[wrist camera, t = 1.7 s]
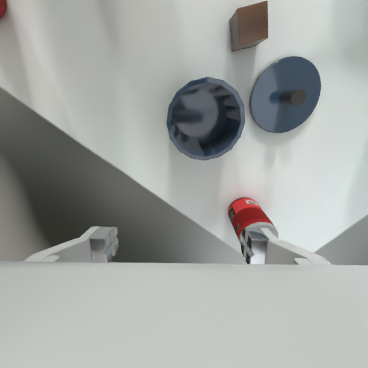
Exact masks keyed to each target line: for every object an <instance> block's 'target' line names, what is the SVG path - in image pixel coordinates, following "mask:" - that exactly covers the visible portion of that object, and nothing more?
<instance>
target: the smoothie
mask: <svg viewBox="0 0 368 368" xmlns="http://www.w3.org/2000/svg"><path fill="white" fill-rule="evenodd" d="M5 9H6V3H5V0H0V18H2V16H3V15H4V13H5Z"/></svg>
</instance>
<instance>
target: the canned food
mask: <svg viewBox="0 0 368 368" xmlns="http://www.w3.org/2000/svg"><path fill="white" fill-rule="evenodd" d="M228 215H229V218H230V220H231V223H232V225H233V227H234V230H235V232H236V235H237V237H238V239H239V241H240V243H241V241H242V240H243V239H244V238H243V236H242V230H243V228H268V229H269V230H270V231H271V232H272V233H273V234H274V235H275V236H276V237H277V238H278V232H277V230H276V228H275V226H274V225H273V224H272V222H271V221H270V220H269V218H268V217H267V216H266V214H265V213H264V212H263V210H262V209H261V208H260V207H259V205H258V204H257V203H256V202H255V201H254V200H252V199H250V198H240V199H237V200H235V201H234V202H233V203H232V204H231V205H230V207H229V210H228Z"/></svg>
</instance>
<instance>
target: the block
mask: <svg viewBox="0 0 368 368" xmlns="http://www.w3.org/2000/svg"><path fill="white" fill-rule="evenodd" d="M230 32H231V44H232V51H236V50H240V49H244V48H248V47H252V46H256V45H258V44H259V43H261V42H262V41H264V40H265V39H267V38H268V8H267V1H264V2H260V3H257V4H253V5H249V6H245V7H242V8H238V9H237V10H236V11H235V13H234V14H233V16H232V18H231V19H230Z"/></svg>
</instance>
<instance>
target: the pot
mask: <svg viewBox="0 0 368 368" xmlns="http://www.w3.org/2000/svg"><path fill="white" fill-rule="evenodd" d="M244 124H245V114H244V104H243V102H242V100H241V98H240V96H239V94H238V92H237V91H236V90H235V89H234V88H233V87H231V86H230V85H229V84H228V83H226V82H225V81H223V80H219V79H214V78H210V77H205V78H201V79H197V80H193V81H190V82H189V83H188V84H186V85H185V86H184V87H183V88H181V89H180V90H179V91H178V92H177V93H176V95H175V97H174V98H173V100H172V102H171V104H170V105H169V108H168V116H167V128H168V132H169V136H170V139H171V140H172V142H173V143H174V145H175V146H176V147H177V149H178V150H179V151H180V152H182V153H184V154H185V155H187V156H188V157H190V158H193V159H199V160H209V159H213V158H218V157H220V156H222V155H223V154H225V153H226V152H228V151H229V150H231V149H232V147H233V146H234V145H235V143H236V142H237V141H238V139H239V138H240V137H241V133H242V130H243V127H244Z"/></svg>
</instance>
